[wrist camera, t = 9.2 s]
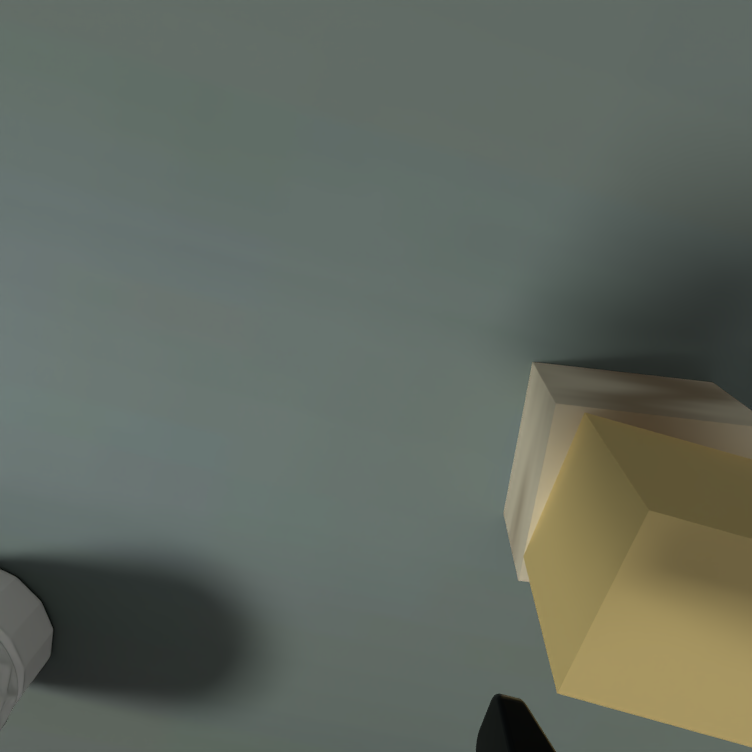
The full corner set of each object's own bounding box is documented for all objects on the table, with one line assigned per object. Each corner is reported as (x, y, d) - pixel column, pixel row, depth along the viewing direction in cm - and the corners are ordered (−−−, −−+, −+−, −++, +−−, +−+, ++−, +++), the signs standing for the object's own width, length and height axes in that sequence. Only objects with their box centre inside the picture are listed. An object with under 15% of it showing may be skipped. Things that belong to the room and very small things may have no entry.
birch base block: (710, 380, 20) (777, 429, 16) (664, 531, 22) (714, 606, 18) (531, 360, 20) (556, 403, 16) (503, 510, 22) (518, 580, 18)
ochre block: (757, 461, 16) (892, 578, 11) (679, 599, 18) (769, 752, 13) (584, 412, 16) (649, 510, 11) (523, 556, 18) (557, 693, 13)
